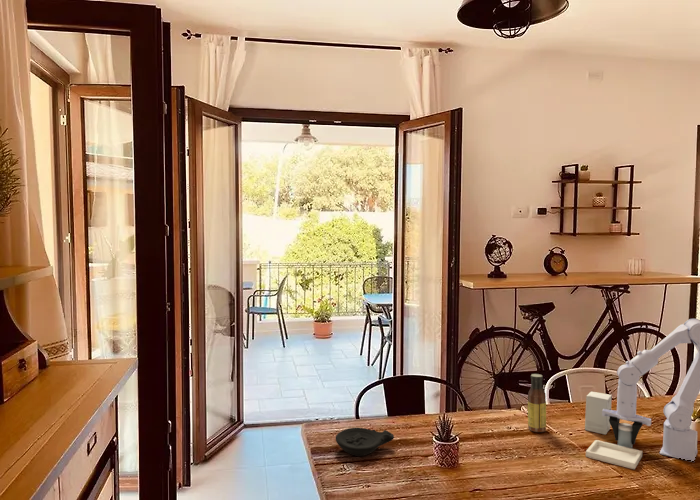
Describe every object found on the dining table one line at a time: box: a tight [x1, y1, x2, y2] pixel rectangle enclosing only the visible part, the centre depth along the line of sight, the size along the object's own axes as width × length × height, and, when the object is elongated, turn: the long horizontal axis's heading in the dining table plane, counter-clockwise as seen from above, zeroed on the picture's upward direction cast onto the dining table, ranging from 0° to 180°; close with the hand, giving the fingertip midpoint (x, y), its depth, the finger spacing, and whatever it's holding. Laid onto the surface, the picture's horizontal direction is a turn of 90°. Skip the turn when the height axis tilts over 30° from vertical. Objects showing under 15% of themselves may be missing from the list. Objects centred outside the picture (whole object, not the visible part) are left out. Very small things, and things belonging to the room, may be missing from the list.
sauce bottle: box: [527, 373, 547, 433], centre depth 193 cm, size 6×6×20 cm
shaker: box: [617, 422, 633, 449], centre depth 180 cm, size 5×5×7 cm
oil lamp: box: [335, 427, 395, 457], centre depth 174 cm, size 15×20×5 cm
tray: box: [585, 439, 643, 470], centre depth 172 cm, size 14×12×2 cm
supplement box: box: [584, 391, 612, 435], centre depth 195 cm, size 7×7×13 cm
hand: (625, 441), depth 180 cm, fingers closed on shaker, 4 cm apart
